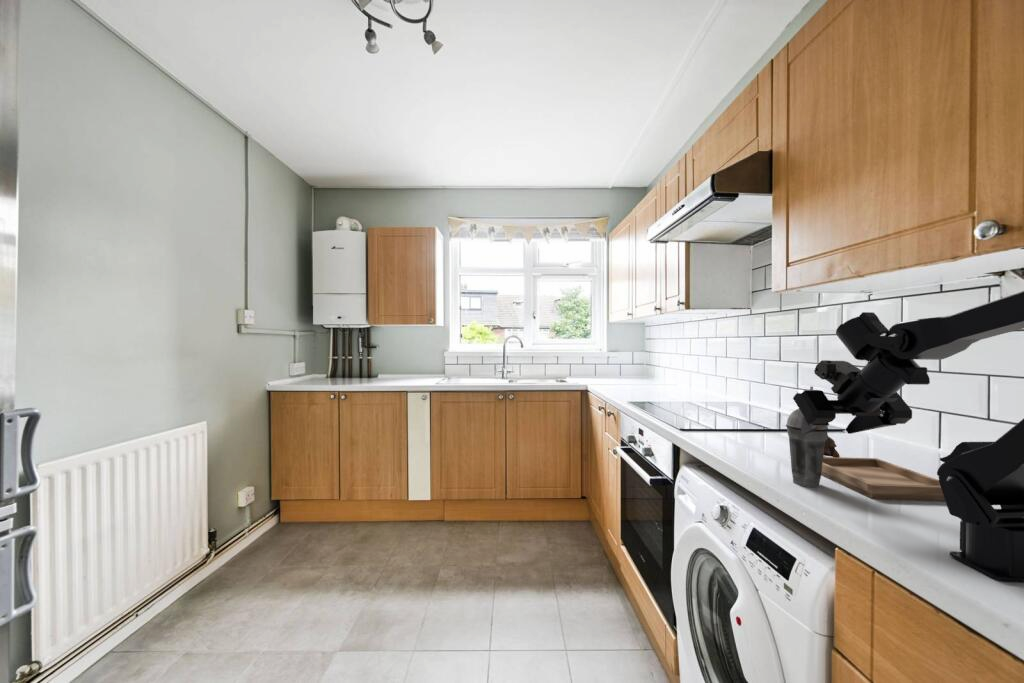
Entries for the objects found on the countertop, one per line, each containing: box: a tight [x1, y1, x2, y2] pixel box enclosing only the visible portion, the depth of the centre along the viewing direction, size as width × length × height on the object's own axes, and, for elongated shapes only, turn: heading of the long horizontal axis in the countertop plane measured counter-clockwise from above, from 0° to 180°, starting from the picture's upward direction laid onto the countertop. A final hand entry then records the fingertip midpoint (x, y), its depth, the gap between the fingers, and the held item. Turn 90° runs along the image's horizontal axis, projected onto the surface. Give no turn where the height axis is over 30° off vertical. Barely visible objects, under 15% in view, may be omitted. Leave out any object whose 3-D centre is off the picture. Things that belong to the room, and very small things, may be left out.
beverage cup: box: [785, 386, 830, 488], centre depth 89 cm, size 7×7×20 cm
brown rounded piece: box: [823, 434, 841, 457], centre depth 109 cm, size 12×10×8 cm
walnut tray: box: [821, 456, 946, 502], centre depth 90 cm, size 20×16×2 cm
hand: (825, 431), depth 84 cm, fingers open, 9 cm apart
